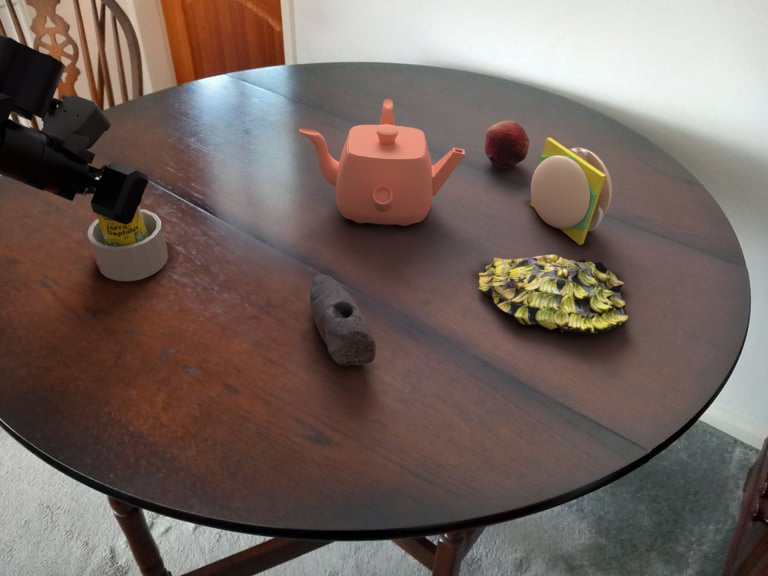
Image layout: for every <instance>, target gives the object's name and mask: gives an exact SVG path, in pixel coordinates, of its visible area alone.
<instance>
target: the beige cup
mask: <svg viewBox="0 0 768 576" xmlns="http://www.w3.org/2000/svg"><path fill="white" fill-rule="evenodd" d="M140 209H141V213H142V217H143V221H144V225H145V229H146V233H147V238H146V239H144V240H143V241H141V242H138V243H135V244H132V245H128V246H119V247H115V246H107V245H106V243H105V240H104V236H103V233H102V230H101V227H100V224H99V220H98V218H96V219H95V220H94V221H93V222H92V223H91V224H90V225H89V227H88V230H87V239H88V242H89V245H90V248H91V251H92V254H93V258H94V260H95V264H96V265H97V267H98V270H99V272H100V273H101V274H102V275H103V276H104V277H106V278H108V279H110V280H113V281H117V282H135V281H139V280H143V279H146V278H149V277H151V276H153V275H155V274H156V273H158V272H159V271H160V270H162V269H163V268H164V266H165V265H166V264H167V262H168V259H169V252H168V246H167V241H166V237H165V232H164V228H163V223H162V221H161V219H160V218H159V217H158V215H157V214H156V213H154V212H152V211H150V210H147V209H144V208H140Z"/></svg>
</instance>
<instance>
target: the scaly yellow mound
mask: <svg viewBox="0 0 768 576" xmlns="http://www.w3.org/2000/svg"><path fill="white" fill-rule="evenodd" d="M485 269H486V271H485V272H478V276H479V280H478V283H479V286H478V290H480V291H482V292H484V293H485V294H486V295H488V296H489V297H490V299H492V300H493V302H494V304H495V305H496V306H497V307H498V308H499V309H500V310H502V311H503V312H504V313H506V314H507V315H508V316H509V317H511V319H513V320H515V321H516V322H517V323H518V324H520V325H527V326H529V325H540V326H542V327H544V328H546V329H548V330H550V331H552V330H555V329H559V330H560V333H563V332H564V331H565V332H573V333H580V334H586V335H597V334H598V333H599V334H601V333H604V332H613V331H615V330H618V329H620V328H622V327H625V326H626V323H627V321H628V320H629V317H630V316H629V315H627V314H626V313H625V308H626V302H625V301H624V299H623V297H622V291H621V289H622V288H623V286H624V285H625V282H624V281H621V280H618V278H617V276H616V275H615V274H614V273H613V272H612V271H610V270H609V269H608V267H606V266H605V265H604V263H603V262H602V261H597V262H595V263H593V262H592V261H586V260H585V259H577V260H576V259H567V258H564V257H562V256H559V255H557V254H546V255H537V256H528V257H522V258H514V259H507V258H506V259H505V258H498V257H494V258H493V261H492V262H491V263H489V265H486V266H485Z"/></svg>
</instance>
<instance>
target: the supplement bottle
mask: <svg viewBox="0 0 768 576" xmlns="http://www.w3.org/2000/svg"><path fill="white" fill-rule="evenodd" d="M100 177H101V176H100ZM95 179H97V180H99V178H98V177H96V178H95ZM94 189H95V188H94ZM140 205H141V204H140ZM140 205H139V206H138V208H137V211H136V213H135V216H134V218H133V220H132V222H131V223H129V224H127V225H125V224H122V223H119V222H116V221H114V220H111V219H109V218H107V217H104V216H102V215H99V214H97V213H95V214H96V217H97V219H98V220H99V224H100V227H101V230H102V233H103V236H104V240H105V243H106V245H107V246H115V247H119V246H128V245H132V244H135V243H138V242H141V241H143V240H144V239H146V238H147V233H146V229H145V225H144V221H143V217H142V213H141V209H142V208H141V206H140Z"/></svg>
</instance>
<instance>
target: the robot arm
mask: <svg viewBox="0 0 768 576" xmlns="http://www.w3.org/2000/svg"><path fill="white" fill-rule="evenodd" d="M66 68H67V67H66V65H65V64H64V63H63V62H62V61H60V60H59V59H57V58H56V57H55V56H52V55H50V54H47V53H44V52H42V51H39V50H37V49H35V48H33V47H30V46H28V45H26V44H23V43H21V42H19V41H17V40H16V39H14V38H13V37H11V36H7V35H5V34H4V35H3V34H0V176H3V177H5V178H9V179H12V180H14V181H17V182H20V183H22V184H24V185H27V186H30V187H32V188H35V189H37V190H39V191H42V192H44V191H45V192H48V193H50V194H52V195H55V196H57V197H61V198H62V199H65V200H67V201H70V202H73V201H74V199H75V196H76V195H81V196H86V195H92V198H91V201H90V206H91V208H92V212H93V213H95V214H96V213H97V214H99V215H102V216H104V217H107V218H109V219H111V220H114V221H116V222H119V223H122V224H125V225H127V224H129V223H131V222H132V220H133V218H134V216H135V213H136V211H137V208H138V206H139V205H141V203H142V200H143V196H144V194H145V191H146V189H147V186H148V184H149V177H148V175H147V174H145V173H144V172H141V171H140V170H137V169H134V168H132V167H129V166H126V165H124V164H122V163H119V162H116V161H113V162H111V163H109V164H103V165H102V166H101V167H99V168H98V167H96V166H93V165H91V164H92V163H93V161H94V159H95V156H96V153H95V152H92V151H91V150H89V149H91V148H92V147H94V145H95V144H96V143H97V142H98V140H99V139H100V138H101V137H102V136H103V134H104V133H105V132H108V131H109V130H110V128H111V126H112V123H111V120H110V119H109V118H108V117H107V115H106V113H104V112H103V110H102V109H101V108H100V106H99V105H98V104H97V103H96V102H95V101H94V100H90V99H87V98H84V97H81V96H79V95H76V94H71V95H66V94H62V95H61V96H60V97H61V99H58V98H56V97H54V96H55V94H56V92H57V90H58V87H59V84H60V83H61V79H62V77H63V75H64V73H65V69H66ZM11 114H12V115H15V116H17V117H19V118H22V119H24V120H27V121H30V122H31V121H33V118H34V116H35V117H37V118H39V119H40V121H41V122H42V128H41V129H38V128H36V127H33V126H26V125H24V124H22V123H19V122H18V121H15V120H14V119H11V118H10V116H11ZM100 176H101V177H100ZM96 177H98V178H99V180H97V179H95V178H96ZM94 188H95V189H94ZM97 214H96V215H97Z"/></svg>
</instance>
